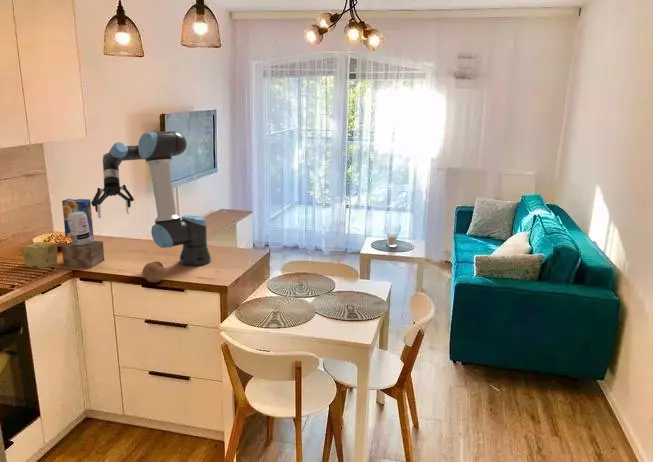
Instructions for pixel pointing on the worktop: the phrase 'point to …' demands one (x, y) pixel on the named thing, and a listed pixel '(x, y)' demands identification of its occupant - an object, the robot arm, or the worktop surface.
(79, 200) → the juice carton
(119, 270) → the worktop surface
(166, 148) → the robot arm
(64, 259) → the walnut block
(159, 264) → the onion
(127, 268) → the worktop surface
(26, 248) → the cheese
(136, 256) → the worktop surface
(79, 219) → the supplement can
